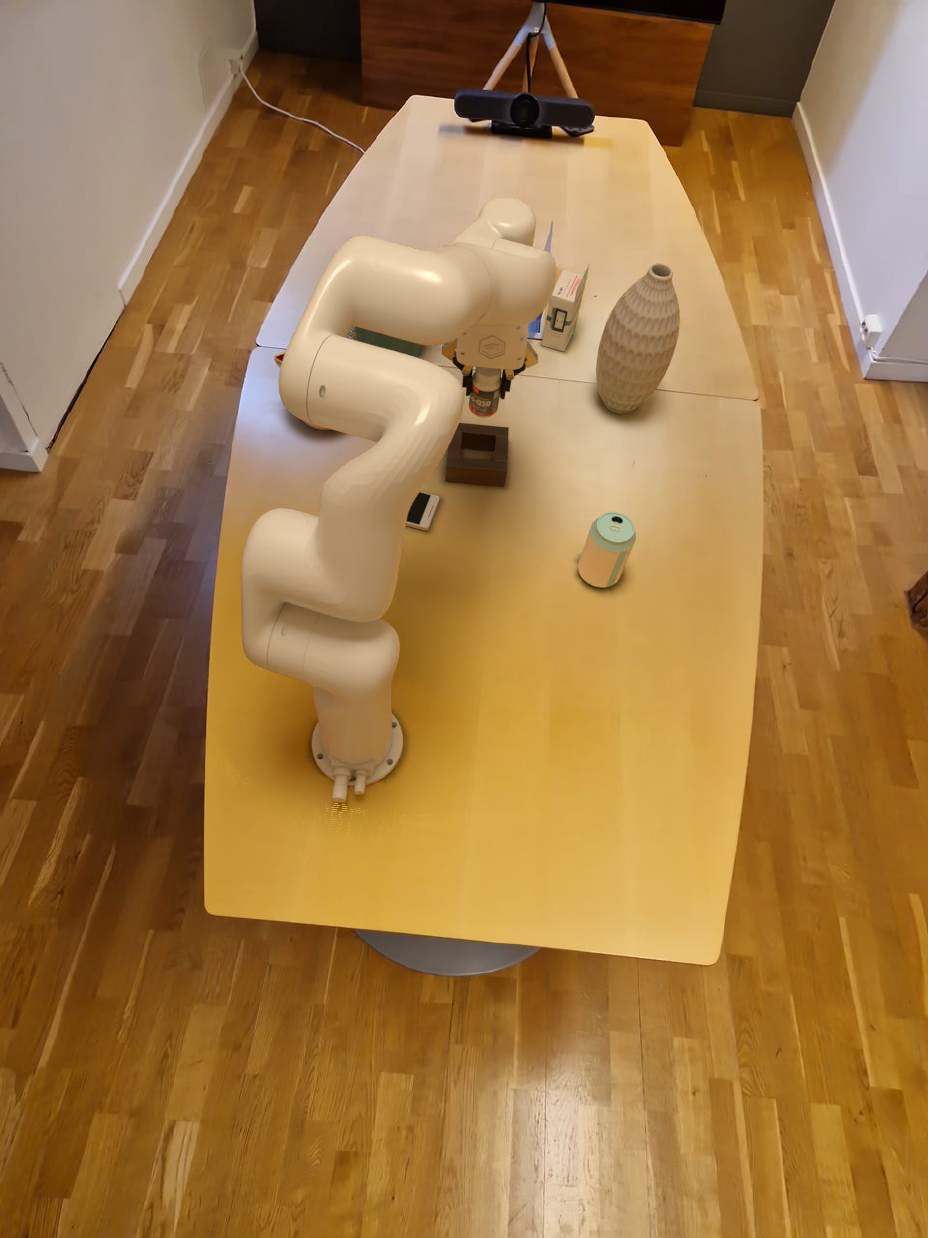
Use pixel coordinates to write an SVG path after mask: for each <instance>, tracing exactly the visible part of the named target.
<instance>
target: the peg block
mask: <svg viewBox="0 0 928 1238" xmlns="http://www.w3.org/2000/svg"><path fill="white" fill-rule="evenodd" d="M509 431H510V428H509V427H508V426H499V425H488V424H479V423H477V424H476V423H468V422H459V424H458V427H457V429H456V431H455V433H454V436H453V438H452V440H451V442H450V444H449V446H448V448H447V456H446V466H445V467H446V468H445V479H444V482H446V483H457V484H466V485H477V486H478V485H479V486H488V487H498V488H499V487H500V488H505V485H506V480H507V474H508V457H509V456H508V455H509ZM462 449H468V450H476V451H477V450H478V451H488V452H492V453H493V454H492V459H480V458H469V457H461V455H462V454H461V453H462Z"/></svg>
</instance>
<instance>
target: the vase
mask: <svg viewBox="0 0 928 1238" xmlns="http://www.w3.org/2000/svg"><path fill="white" fill-rule="evenodd" d="M673 276H674V272H673V269H672V268H671V267H670V266H669V265H667V264H664V263H660V262H659V263H653V264H652V265H650V266H649V268H648V270H647V272H646V273H645V274H644V275H643V276H642V277H640V278H639V279H638V280H636V281H635V282H634V283H633V284H632V285H631V286H629V287H628V288H627V290H626V291H625V292H623V294H622V295H621V296H620V297H619V298H618V300H617V302H616V303H615V305H614V306H613V308H612V310H611V311H610V313H609V315H608V318H607V319H606V322H605V325H604V328H603V330H602V334H601V338H600V341H599V345H598V349H597V355H596V365H595V374H596V377H595V378H596V385H597V389H598V393H599V396H600V399H601V400H602V403H603V405H604V406H605V408H606V409H608V410H609V411H610V412H612V413H615V414H619V415H624V414H625V415H626V414H629V413H631V412H633V411H634V410H636V409H637V408H639V407H641V406H642V405H644V403H645V402H646V401H648V400H649V398H651V396H652V395H653V394H654V393H655V391H656V390H657V389H658V388H659V386H660V384H661V382H662V381H663V380H664V378H665V375H666V374H667V371H668V369H669V367H670V364H671V361H672V359H673V357H674V353H675V350H676V347H677V343H678V340H679V334H680V325H681V310H680V305H679V299H678V295H677V293H676V289H675V287H674V283H673Z"/></svg>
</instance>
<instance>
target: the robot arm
mask: <svg viewBox="0 0 928 1238" xmlns="http://www.w3.org/2000/svg"><path fill="white" fill-rule="evenodd" d="M536 229H537V218H536V215H535V212H534V210H533V208H532V207H531V206H530V205H529V204H528V203H526V202H524V201H523V200H521V199H518V198H516V197H510V196H499V197H495V198H492V199H489V200H488V201H487V202H485V203H483V205H482V206H481V208H480V210H479V213H478V215H477V218H476V219H475V220H473V221H472V222H471V223H470V224H468V225H467V226H466V227H465V228H463V229H462V230H461V231H459V233H458V234H457V235H455V236H454V238H453V239H452V240H451V241H449V242H448V243H447V244H444V245H442V246H440V247H437V248H435V249H432V250H423V249H420V248H415V247H411V246H408V245H404V244H401V243H396V242H394V241H390V240H386V239H382V238H378V237H375V236H371V235H365V234H358V235H354V236H353V237H350V238H349V239H347V240H346V241H345V242H344V243H342V244H341V246H340V247H339V248H338V249H337V250H336V251H335V253H334V254H333V256H332V257H331V259H330V260H329V261H328V263H327V265H326V266H325V269H324V270H323V272H322V273H321V275H320V277H319V279H318V280H317V284H316V285H315V287H314V289H313V292H312V294H311V296H310V298H309V300H308V302H307V304H306V307H305V308H304V311H303V313H302V315H301V317H300V319H299V321H298V323H297V325H296V328H295V330H294V332H293V334H292V336H291V338H290V341H288V345H287V347H286V350H285V351H284V352H285V354H284V357H283V361H282V364H281V368H279V374H278V393H279V397H280V400H281V403H282V405H283V406H284V408H285V409H286V410H287V411H288V412H289V413H290V414H291V415H293V416H294V417H296V418H298V419H299V420H300V421H301V420H302V421H303V420H304V421H306V422H309V423H312V424H316V425H319V426H323V427H326V428H329V429H332V431H336V432H340V433H344V434H346V435H350V436H353V437H357V438H361V439H364V440H367V441H371V442H375V444H374V445H373V446H372V447H370V448H369V449H367V450H365V452H362V453H361V454H359V455H357V456H355V457H354V458H352V459H350V460H349V461H347V462H345V464H343V465H342V466H341V467H339V468H338V469H337V470H336V471H334V472H333V474H331V475H330V476H329V478H327V480H326V481H325V483H323V486H322V488H321V491H320V493H319V504H318V509H319V510H318V515H315V514H312V513H309V512H306V511H302V510H299V509H293V508H287V507H279V508H278V507H277V508H273V509H270V510H268V511H266V512H264V513H263V514H262V515H260V516H259V518H257V519H256V521H255V522H254V524H253V525H252V527H251V529H250V531H249V533H248V535H247V537H246V540H245V543H244V547H243V550H242V555H241V563H240V614H241V615H240V616H241V617H240V619H241V621H240V622H241V642H242V643H241V644H242V649H243V653H244V655H245V657H246V658H247V659H248V660H249V662H250V663H252V664H253V665H255V666H257V667H258V668H261V669H263V670H266V671H269V672H272V673H275V674H277V675H281V676H284V677H287V678H289V679H293V680H295V681H299V682H302V683H304V684H307V685H309V686H312V688H313V690H312V692H313V693H312V694H313V696H312V697H313V702H314V707H315V711H316V717H317V723H316V725H315V727H314V729H313V732H312V736H311V750H312V755H313V758H314V761H315V763H316V765H317V766H318V767H317V768H319V770H320V771H321V772H322V773H323V774H324V775H325V776H326V777H327V778H329V779H330V780H332V781H333V782H334V784H333V787H332V794H331V801H333V802H335V803H346V802H347V797H348V790H349V788H348V786H349V787H354V788H353V794H355V795H357V796H358V795H359V796H360V795H364V794H365V791H366V786H369V785H373V784H375V783H377V782H379V781H380V780H383V779H384V778H386V776H388V775H389V774H390V773H391V772H392V771H393V770H394V769H395V767H396V766H397V765H398V763H399V760H400V759H401V756H402V753H403V747H404V735H403V730H402V727H401V724H400V723H399V720H398V719H397V717H396V716H395V715H394V713H393V712H392V711H393V709H392V705H393V704H392V695H393V694H392V693H393V692H392V686H393V679H394V676H395V673H396V669H397V667H398V663H399V660H400V655H401V641H400V637H399V634H398V632H397V630H396V629H395V628H394V627H393V625H391V624H390V623H389V622H387V621H385V620H384V619H382V617H383V616H384V615H385V614H386V613H387V612H388V610H389V609H390V606H391V604H392V602H393V600H394V596H395V593H396V588H397V584H398V579H399V571H400V566H401V559H402V552H403V545H404V538H405V531H406V527H407V526H406V520H407V515H408V512H409V509H410V507H411V505H412V503H413V501H414V500H415V498H416V496H417V495H418V493H419V492H420V491H422V489H423V488H424V487H425V485H426V484H427V482H428V480H429V479H430V477H431V476H432V475H433V473H434V472H435V471H436V468H437V467H438V465H439V464H440V462H441V460H442V459H443V457H444V456H445V454H446V452H447V451H448V446H449V444H450V442H451V440H452V438H453V436H454V433H455V431H456V429H457V427H458V424H459V423H460V421H461V418H462V415H463V412H464V405H465V397H470V393H471V384H472V376H473V374H474V372H473V371H474V367H475V368H476V367H485V368H496V369H502V371H501V378H502V385H501V391H500V398H499V399H501V400H505V399H506V393H510V392H511V387H512V381H513V380H514V379H515V377H516V376H518V375H519V374H521V373H522V372H524V371H525V370H526V369H527V368H528V369H529V368H531V367H533V366H535V365H538V363H539V355H538V353H537V352H536V350H535V349H534V348H533V346H532V345H531V344H530V342H529V341H528V337H529V325H530V324H531V323H533V322H534V321H535V320H536V319H538V317H539V316H540V315H541V314H542V313H543V312H544V310H545V309H546V308H547V306H548V305H549V301H550V299H551V296H552V294H553V291H554V288H555V285H556V283H557V277H558V267H557V262H556V260H555V257H554V256H553V255H552V254H551V253H550V252H549V251H546V250H545V249H541V248H538V247H534V242H535V236H536ZM355 327H360V328H363V329H367V330H370V331H374V332H378V333H382V334H385V335H388V336H392V337H395V338H399V339H402V340H406V341H409V342H413V343H417V344H421V346H429V347H435V346H436V347H437V346H442V347H441V355H442V356H444V357H445V358H446V359H448V360H449V361H451V362H452V364H453V365H454V366H455V367H456V368H457V369H459V371H461V375H462V383H461V382H460V380H459V379H458V378H457V377H456V376H455V375H454V374H453V373H451V372H449V371H448V370H447V369H445V368H443V367H441V366H439V365H437V364H435V363H433V362H430V361H428V360H425V359H422V358H420V357H417V358H416V357H413V356H410V355H407V354H403V353H400V352H396V351H393V350H389V349H385V348H381V347H377V346H373V345H370V344H366V343H363V342H359V341H356V339H351V338H349V335H350V332H351V331H352V329H353V328H355ZM464 389H466V390H465V393H464ZM304 421H303V422H304ZM320 758H321V759H320Z"/></svg>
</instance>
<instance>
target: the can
mask: <svg viewBox="0 0 928 1238" xmlns="http://www.w3.org/2000/svg"><path fill="white" fill-rule="evenodd" d="M636 540H637V533H636V528H635V524H634V523H633V521H632V519H631V518H630V517H628V515H625V514H624V513H622V512H618V511H608V512H604V513H603V514H601V515H600V516H598V517H597V518H596V519H595V520H593V522H592V523H591V525H590V528H589V530H588V534H587V537H586V539H585V543H584V546H583V547H582V551H581V554H580V558H579V561H578V563H577V571H578V574H579V576H580V577H581V578H582V580H583V581H585V582H586V583H587V584H589V585H591V586H593V587H597V588H608V587H612V586H613V585H615V584H617V583H618V582H619V580H620V579H621V576H622V574H623V571H624V569H625V567H626V564H627V563H628V559H629V557H630V555H631V553H632V550H633V548H634V545H635V543H636Z"/></svg>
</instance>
